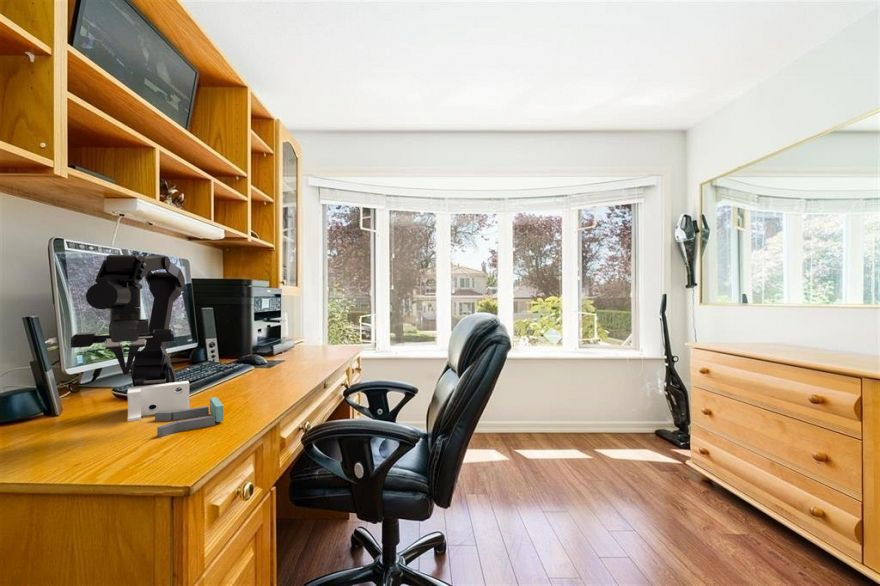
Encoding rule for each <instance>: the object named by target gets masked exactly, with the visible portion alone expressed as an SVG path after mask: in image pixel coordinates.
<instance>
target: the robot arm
mask: <svg viewBox="0 0 880 586" xmlns="http://www.w3.org/2000/svg"><path fill="white" fill-rule="evenodd" d="M160 270H162V271H160ZM143 279H144V280H145V281H146V283H147V284H148V289H149V291H150V293H151V296H152V297H153V300H152V308H151V312H150V317H149V318H150V319H149V318H141V317H142V316H141V314H142V313H141V312H142V311H141V308H142V307H141V302H142V301H141V298H142V297H141V290H142V289H143V285H142V284H141V283H140V282H141V281H142V280H143ZM94 282H95V283H94V284H92V285H91V286H90V287H89V288H88V289H87V292H86V293H85V300H86V301H87V304H88V305H89V306H91V307H92V308H94V309H96V310H109V324H108V334H99V335H97V332H78V333H75V334H74V335H73V336H71V337H70V348H71V349H76V348H77V349H79V348H88V347H89V348H90V347H91V346H93V344H104V345H105V347H104V349H105V350H111V352H112V353H113V355H114V357H115V358H116V359H117V362H118V364H119V368H120V369H121V372H122V373H123V375H124V376H126V375H129V372H130V376H131V380H132V381H131V383H132V387H138V386H147V385H156V384H165V383H173V382H176V379H177V374H176V372H175V368H174V367H173V365H172V358H171V357H170V355H169V354H168V351H167V350H166V349H167V343H168V342H169V343H170V342H171V343H172V342H175V333H174V331H173V330H172V329H171V328H170V325H171V318H172V312H173V306H174V302H175V301H176V300H177V299H178V298H179V297H180V296H181V295H182V291H183V289H184V287H185V284H186V280H185V275H184V274H183V271H182V269H181V268H180V267H179V266H177V265H176V264H174V263H173V262H171V260H170V258H169V256H168V255H162V254H149V255H146V256H143V255H140V254H108V255H107V256H106V257H105V259H104V260H103V261H102V263H101V266H100V268H99V271H98V273H97V275H96V277H95V280H94ZM123 342H130V343H129V347H128V352H127V359H126V361H125V352H124V347H123V344H122V343H123ZM140 348H142V349H141V350H139V349H140ZM155 408H156V405H150V406H149V409H155Z"/></svg>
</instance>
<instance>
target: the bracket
mask: <svg viewBox="0 0 880 586" xmlns="http://www.w3.org/2000/svg"><path fill="white" fill-rule="evenodd" d="M178 388H180V390H179V391H176V390H177V389H178ZM126 394H127V422H135V421H142V416H149V415H155V413H156V412H159V411H178V410H184V409H191V408H190V382H189V380H183V381H175V382H173V383H165V384H156V385H147V386H136V387H133V386H129V387H128V388H127V392H126ZM150 405H156V408H155V409H149V406H150Z"/></svg>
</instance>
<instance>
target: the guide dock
mask: <svg viewBox="0 0 880 586" xmlns="http://www.w3.org/2000/svg"><path fill="white" fill-rule="evenodd" d="M154 421H155V422H157V421H161V422H162V421H164V422H165V421H166V422H168V421H169V423H165V424H163V425H159V426H157V428H156V431H157V432H156V434H157V436H156V437H161V438H164V437H166V436H169V435H171V434H175V433H178V432H183V431H184V432H185V431H189V430H194V429H201V428H205V427H211V426H212V427H213V426H216V421H215V416H214V415H212V414H210V406H208V405H205V406H197V407H191V408H190V409H184V410H178V411H159V412H156V413H155V414H154ZM171 421H172V422H171Z"/></svg>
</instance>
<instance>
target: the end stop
mask: <svg viewBox="0 0 880 586" xmlns="http://www.w3.org/2000/svg"><path fill="white" fill-rule="evenodd" d="M209 414H210V415H214V416H215V423H219V422H224V404H223V403H222V402H221V401H220V400H219V398H218V397H217V396H215V397H209Z"/></svg>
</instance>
